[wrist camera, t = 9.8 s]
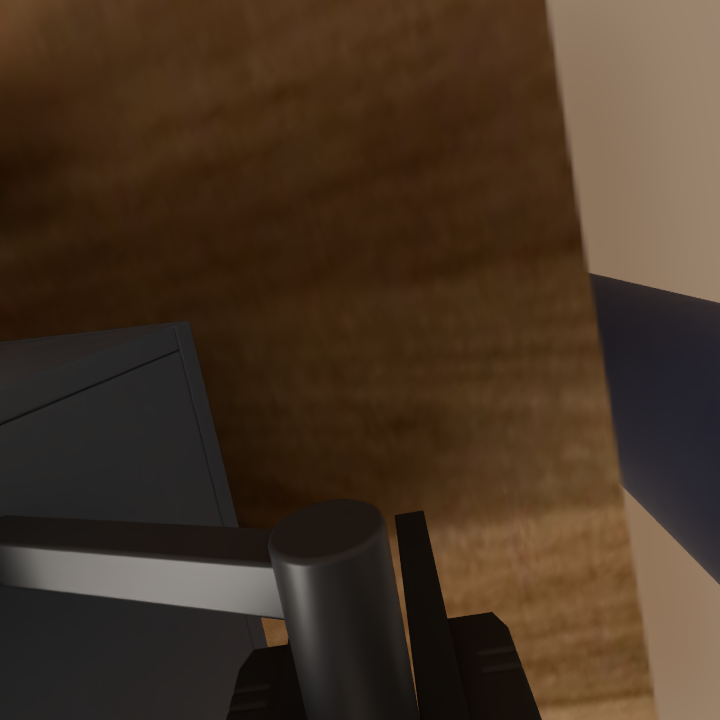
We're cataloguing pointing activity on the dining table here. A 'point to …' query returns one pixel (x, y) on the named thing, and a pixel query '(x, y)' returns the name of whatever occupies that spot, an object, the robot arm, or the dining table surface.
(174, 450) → the handled storage bin
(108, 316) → the dining table surface
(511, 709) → the robot arm
